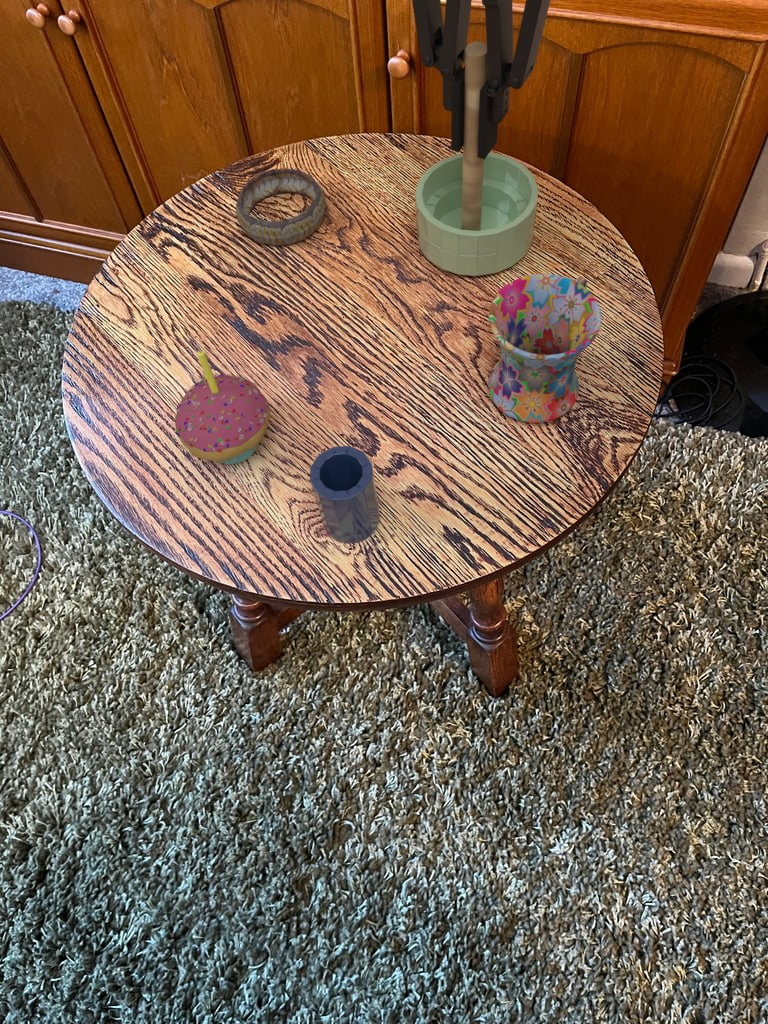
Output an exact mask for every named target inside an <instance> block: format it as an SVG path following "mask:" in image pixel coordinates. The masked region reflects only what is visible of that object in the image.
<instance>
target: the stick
mask: <svg viewBox="0 0 768 1024" xmlns="http://www.w3.org/2000/svg"><path fill="white" fill-rule="evenodd" d="M464 66H465V86H464V135H463V147H462V153H463V184H462V230H473V231H481V215H482V194H483V174H484V159H481V158H478V157H477V155H478V128H479V101H480V89H481V88H482V87H483V85H484V84H485V83H486V82H487V80H488V60H487V42H486V43H485V42H483V41H473V42H470V43H467V46H466V48H465V61H464Z"/></svg>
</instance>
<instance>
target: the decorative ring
mask: <svg viewBox="0 0 768 1024" xmlns="http://www.w3.org/2000/svg"><path fill="white" fill-rule="evenodd" d="M284 194H294V195H301V196H304V197H306V198H308V199H310V200H312V202H311V204H310V205H309V206H308V207H307V208H306V209H305V210H304V211H302V212H301V213H299V214H298V215H296V216H292V217H289V218H287V219H284V220H273V221H270V220H264V219H259V218H257V217H254V216H252V214H251V212H252V211H253V210H254V209H255V207H256V206H257V205H258V204H260V203H261V202H263V201H264V200H266V199H268V198H271V197H274V196H278V195H284ZM326 209H327V201H326V197H325V193H324V191H323V188H322V186H321V185H320V184H319V183H318V182H317V181H316V180H315V178H314V177H312V176H311V174H308V173H306V172H304V171H302V170H300V169H295V168H288V167H285V168H273V169H269V170H267V171H264V172H260V173H258V174H257V175H255V176H253V177H252V178H251V179H249V180H248V181H246V183H245V184H244V185H243V186H242V188H241V189H240V191H239V194H238V197H237V199H236V204H235V212H236V219H237V222H238V224H239V225H240V227H241V228H242V229H243V230H244V232H245V233H246V235H247V236H249V238H251V239H253V240H254V241H256V242H258V243H260V244H262V245H267V246H274V247H282V246H290V245H294V244H296V243H299V242H302V241H304V240H306V239H307V238H308V237H310V236H311V235H313V234H314V233H315V232H316V231H317V230H318V228H319V227H320V226H321V224H322V223H323V220H324V216H325V213H326Z"/></svg>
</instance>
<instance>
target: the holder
mask: <svg viewBox="0 0 768 1024" xmlns="http://www.w3.org/2000/svg"><path fill="white" fill-rule="evenodd" d="M374 474H375V473H374V469H373V464H372V461H371V460H370V458H369V457H368V456H367V455H366V453H365V452H364V451H363V450H361V449H358V448H356V447H353V446H351V445H341V446H339V445H338V446H333V447H330V448H328V449H326V450H325V451H323V452H321V453H319V454H318V455H317V457H316V458H315V459H314V461H313V462H312V464H311V465H310V468H309V483H310V486H311V489H312V492H313V497H314V498H315V499H314V500H315V501H316V502H315V503H316V505H317V509H318V511H319V515H320V518H321V521H322V524H323V526H324V528H325V531H326V532H327V533H328V535H329V536H330V537H331V538H332V539H334V540H335V541H338V542H339V543H344V544H357V543H361V542H364V541H365V540H367V539H369V538H371V536H372V535H373V534H374V533H375V532H376V530H377V529H378V527H379V524H380V520H381V516H380V504H379V499H378V492H377V486H376V485H377V484H376V479H375V475H374Z"/></svg>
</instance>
